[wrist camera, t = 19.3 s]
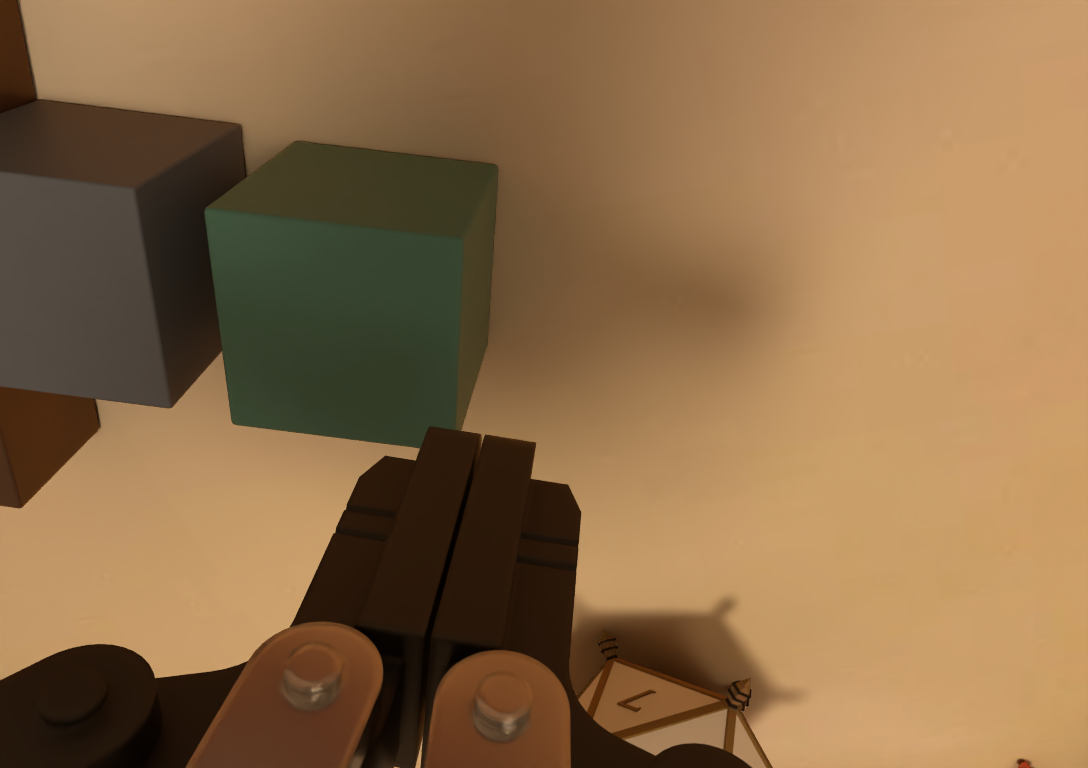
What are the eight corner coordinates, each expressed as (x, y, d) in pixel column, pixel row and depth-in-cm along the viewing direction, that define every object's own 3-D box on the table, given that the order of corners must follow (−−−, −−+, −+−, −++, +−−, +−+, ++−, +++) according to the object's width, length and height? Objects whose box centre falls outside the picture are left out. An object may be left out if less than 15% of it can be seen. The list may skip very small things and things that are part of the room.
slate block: (37, 98, 18) (-127, 156, 14) (241, 123, 18) (133, 188, 14) (79, 287, 20) (-52, 381, 16) (259, 310, 20) (171, 410, 16)
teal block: (293, 139, 18) (201, 207, 14) (499, 164, 18) (463, 239, 14) (306, 323, 20) (229, 425, 16) (487, 346, 20) (454, 455, 16)
